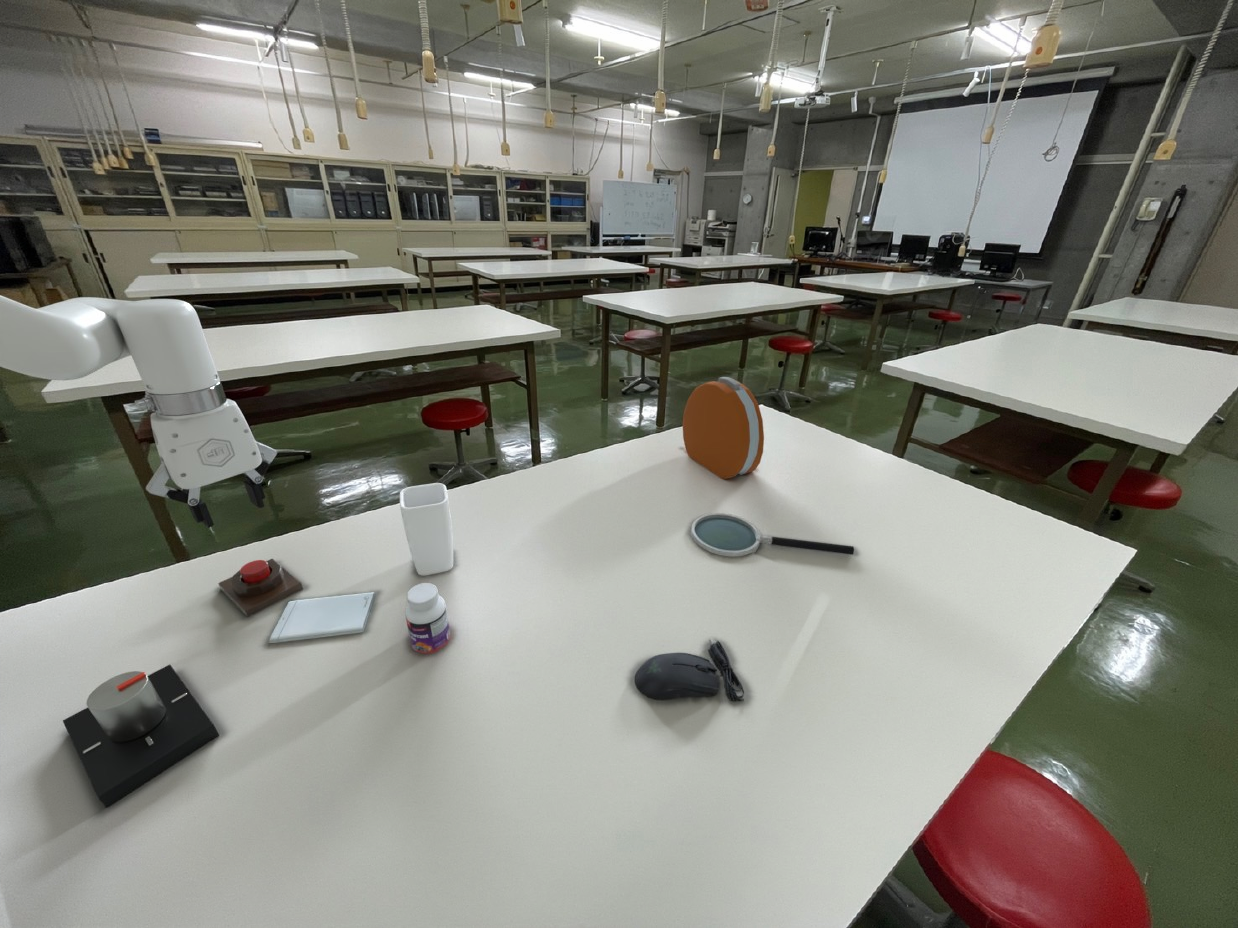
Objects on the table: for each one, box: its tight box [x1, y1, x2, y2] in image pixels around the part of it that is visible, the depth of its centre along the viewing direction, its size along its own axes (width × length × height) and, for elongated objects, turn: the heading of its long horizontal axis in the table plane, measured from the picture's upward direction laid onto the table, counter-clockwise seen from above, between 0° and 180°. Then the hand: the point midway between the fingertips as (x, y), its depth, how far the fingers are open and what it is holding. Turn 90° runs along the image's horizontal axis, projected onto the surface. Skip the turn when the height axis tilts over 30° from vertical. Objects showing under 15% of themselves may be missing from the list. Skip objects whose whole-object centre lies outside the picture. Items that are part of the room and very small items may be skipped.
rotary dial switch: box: [62, 664, 220, 809], centre depth 58 cm, size 14×10×3 cm
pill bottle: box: [404, 582, 451, 654], centre depth 71 cm, size 5×5×10 cm
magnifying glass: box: [690, 512, 855, 558], centre depth 97 cm, size 13×31×2 cm, turn 81°
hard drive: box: [268, 591, 376, 644], centre depth 76 cm, size 2×8×12 cm
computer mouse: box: [634, 637, 745, 703], centre depth 68 cm, size 10×15×4 cm
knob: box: [86, 670, 166, 742], centre depth 56 cm, size 5×5×6 cm
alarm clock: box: [682, 376, 765, 480], centre depth 123 cm, size 22×10×23 cm, turn 30°
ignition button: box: [239, 559, 270, 583], centre depth 79 cm, size 4×4×2 cm
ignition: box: [217, 558, 304, 618], centre depth 80 cm, size 10×8×4 cm
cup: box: [399, 482, 454, 576], centre depth 85 cm, size 7×7×15 cm
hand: (233, 512), depth 74 cm, fingers open, 5 cm apart
